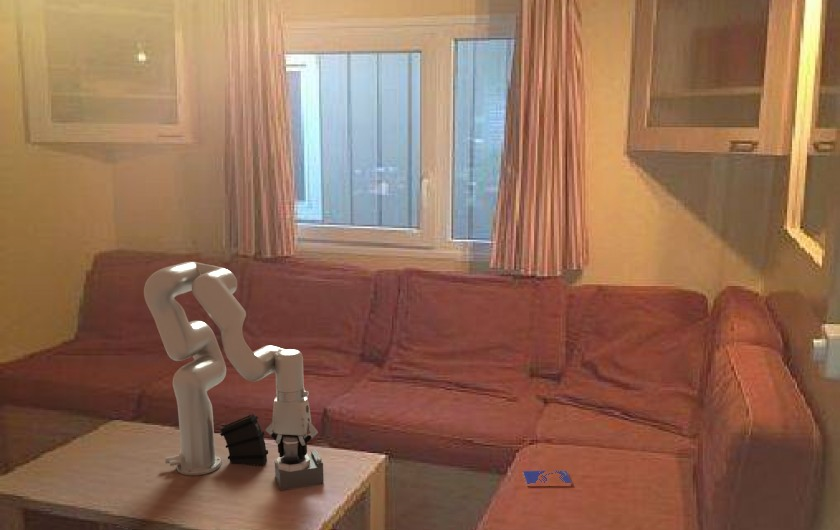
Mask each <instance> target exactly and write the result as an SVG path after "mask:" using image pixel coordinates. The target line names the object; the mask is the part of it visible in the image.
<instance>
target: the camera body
mask: <svg viewBox="0 0 840 530" xmlns="http://www.w3.org/2000/svg"><path fill="white" fill-rule="evenodd" d="M310 453H311V454H308V453H307V454H306V455H305V456H304V458H303V459H302V463H300V464H293V465H288V464H284V460H283V457H280V456H279V457H277V458H276V459H274V476H275V479H276V482H277V484H278V487H279V490H280V491H286V490H287V491H288V490H291V489H297V488H303V487H310V485H311V486H316V485H315V484H317V485H321V483H322V484H324V481H325V480H324V479H325V478H324V462H323V459H322V457H320V455H319V453H318V450H317V449H312V450H310Z"/></svg>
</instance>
